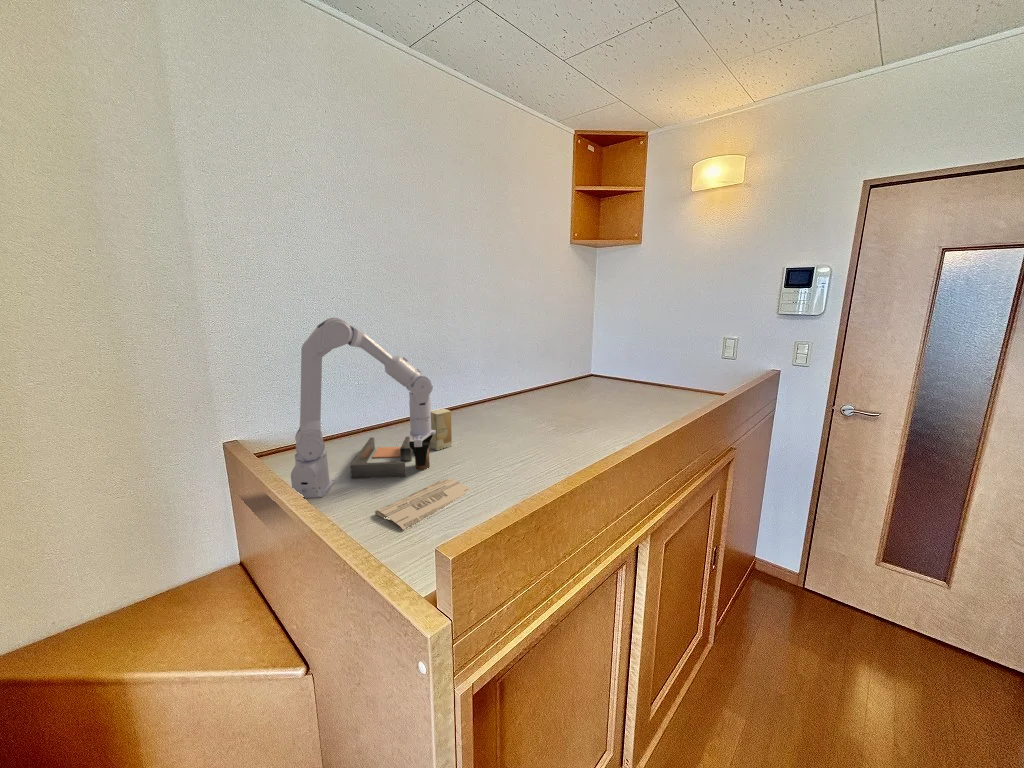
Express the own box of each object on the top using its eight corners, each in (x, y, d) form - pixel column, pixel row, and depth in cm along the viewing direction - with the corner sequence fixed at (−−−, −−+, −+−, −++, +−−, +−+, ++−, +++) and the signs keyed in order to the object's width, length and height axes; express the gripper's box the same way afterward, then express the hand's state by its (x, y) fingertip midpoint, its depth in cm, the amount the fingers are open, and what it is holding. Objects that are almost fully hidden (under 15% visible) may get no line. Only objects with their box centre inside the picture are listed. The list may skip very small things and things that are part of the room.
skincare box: (437, 451, 129) (435, 414, 127) (428, 447, 132) (427, 411, 129) (452, 446, 134) (451, 410, 131) (444, 442, 137) (443, 407, 134)
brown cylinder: (428, 470, 115) (428, 450, 114) (414, 470, 115) (413, 450, 114) (430, 464, 119) (429, 445, 118) (416, 464, 119) (415, 445, 118)
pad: (399, 457, 124) (399, 456, 124) (372, 458, 123) (372, 456, 123) (403, 447, 132) (403, 446, 132) (378, 448, 131) (378, 447, 131)
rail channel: (405, 477, 111) (404, 463, 110) (351, 478, 109) (350, 465, 108) (415, 448, 132) (415, 436, 131) (371, 449, 130) (370, 437, 130)
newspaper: (443, 482, 109) (443, 473, 109) (475, 500, 102) (476, 491, 101) (367, 515, 92) (367, 505, 91) (399, 540, 85) (399, 530, 84)
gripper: (432, 424, 107) (434, 471, 110) (437, 409, 121) (438, 451, 124) (405, 424, 106) (407, 472, 109) (413, 409, 121) (415, 452, 123)
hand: (422, 461), depth 117 cm, fingers open, 4 cm apart
